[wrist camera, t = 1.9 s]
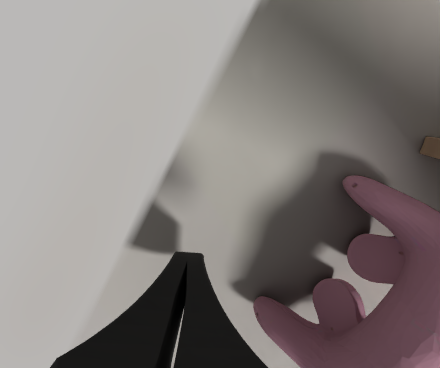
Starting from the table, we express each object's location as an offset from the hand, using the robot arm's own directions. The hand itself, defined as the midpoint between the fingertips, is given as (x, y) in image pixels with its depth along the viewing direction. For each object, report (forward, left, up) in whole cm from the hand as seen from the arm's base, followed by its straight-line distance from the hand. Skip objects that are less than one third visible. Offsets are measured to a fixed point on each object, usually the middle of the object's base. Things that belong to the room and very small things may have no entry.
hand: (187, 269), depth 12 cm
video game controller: (-8, 0, -2) cm, 8 cm away
